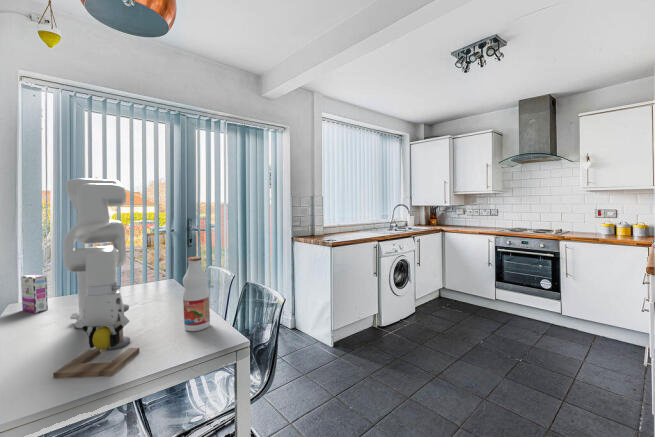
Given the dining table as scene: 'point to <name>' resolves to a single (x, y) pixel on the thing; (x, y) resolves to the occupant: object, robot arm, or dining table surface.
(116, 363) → the notched board
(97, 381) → the dining table surface
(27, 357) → the dining table surface
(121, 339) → the spool
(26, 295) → the candy bar box
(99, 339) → the lemon
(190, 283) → the fruit juice
